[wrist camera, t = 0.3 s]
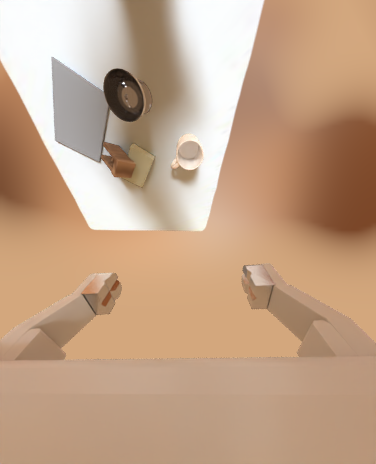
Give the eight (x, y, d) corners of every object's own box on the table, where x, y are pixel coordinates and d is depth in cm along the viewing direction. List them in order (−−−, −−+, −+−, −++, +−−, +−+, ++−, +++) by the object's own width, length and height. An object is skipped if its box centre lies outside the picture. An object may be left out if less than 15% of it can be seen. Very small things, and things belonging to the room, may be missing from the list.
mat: (53, 57, 34) (51, 56, 33) (110, 96, 39) (109, 96, 38) (56, 139, 45) (55, 140, 45) (99, 161, 50) (99, 162, 50)
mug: (178, 170, 54) (178, 182, 47) (164, 152, 49) (161, 161, 42) (204, 149, 49) (208, 158, 42) (190, 126, 45) (193, 132, 37)
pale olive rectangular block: (133, 143, 47) (130, 146, 44) (155, 156, 50) (153, 159, 47) (124, 173, 54) (121, 177, 51) (144, 183, 57) (142, 188, 54)
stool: (107, 139, 46) (93, 147, 38) (140, 157, 50) (132, 168, 42) (105, 154, 49) (90, 165, 41) (135, 171, 53) (127, 183, 45)
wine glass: (118, 84, 37) (93, 78, 27) (144, 71, 36) (129, 59, 25) (134, 120, 43) (119, 127, 32) (158, 109, 41) (150, 114, 31)
